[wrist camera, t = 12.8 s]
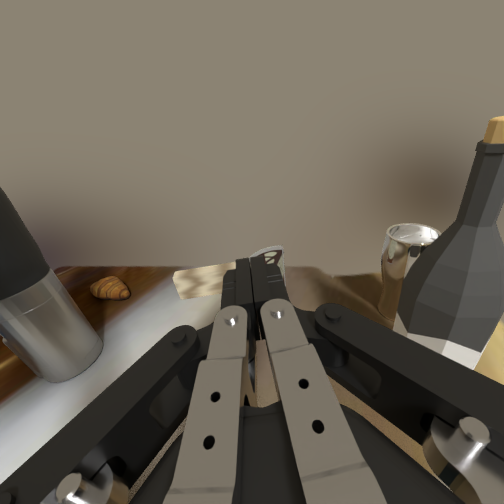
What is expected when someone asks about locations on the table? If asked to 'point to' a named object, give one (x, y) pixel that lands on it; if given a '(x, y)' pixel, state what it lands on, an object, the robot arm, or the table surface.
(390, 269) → the beer glass
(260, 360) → the table surface
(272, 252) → the food container
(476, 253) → the wine bottle
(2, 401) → the table surface
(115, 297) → the croissant
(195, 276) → the maple board
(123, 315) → the table surface
